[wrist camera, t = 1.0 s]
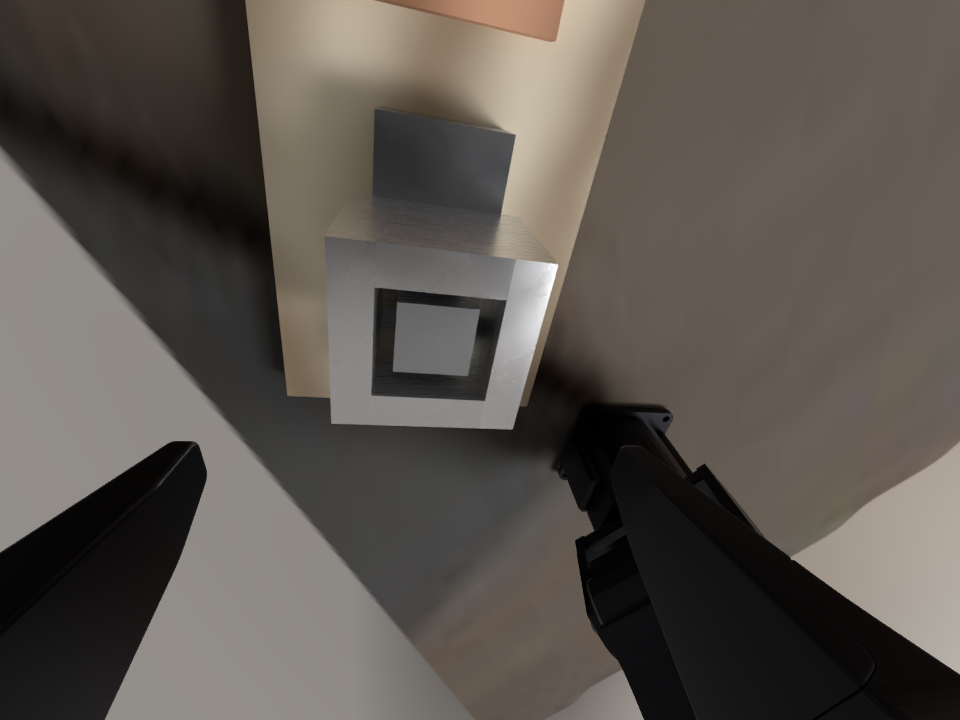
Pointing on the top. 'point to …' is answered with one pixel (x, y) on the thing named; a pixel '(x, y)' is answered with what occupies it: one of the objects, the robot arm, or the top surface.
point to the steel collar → (443, 270)
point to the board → (431, 91)
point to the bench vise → (446, 182)
